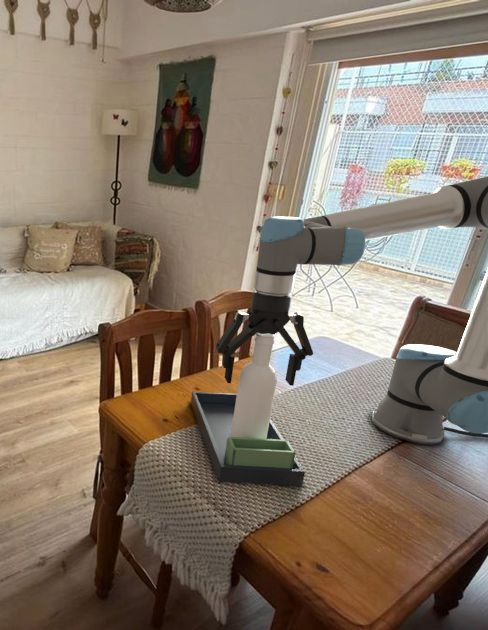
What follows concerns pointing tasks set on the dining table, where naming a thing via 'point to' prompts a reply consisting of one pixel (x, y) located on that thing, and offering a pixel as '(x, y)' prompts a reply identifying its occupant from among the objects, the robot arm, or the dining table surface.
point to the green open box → (259, 453)
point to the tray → (216, 428)
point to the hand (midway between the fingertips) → (258, 381)
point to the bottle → (255, 392)
